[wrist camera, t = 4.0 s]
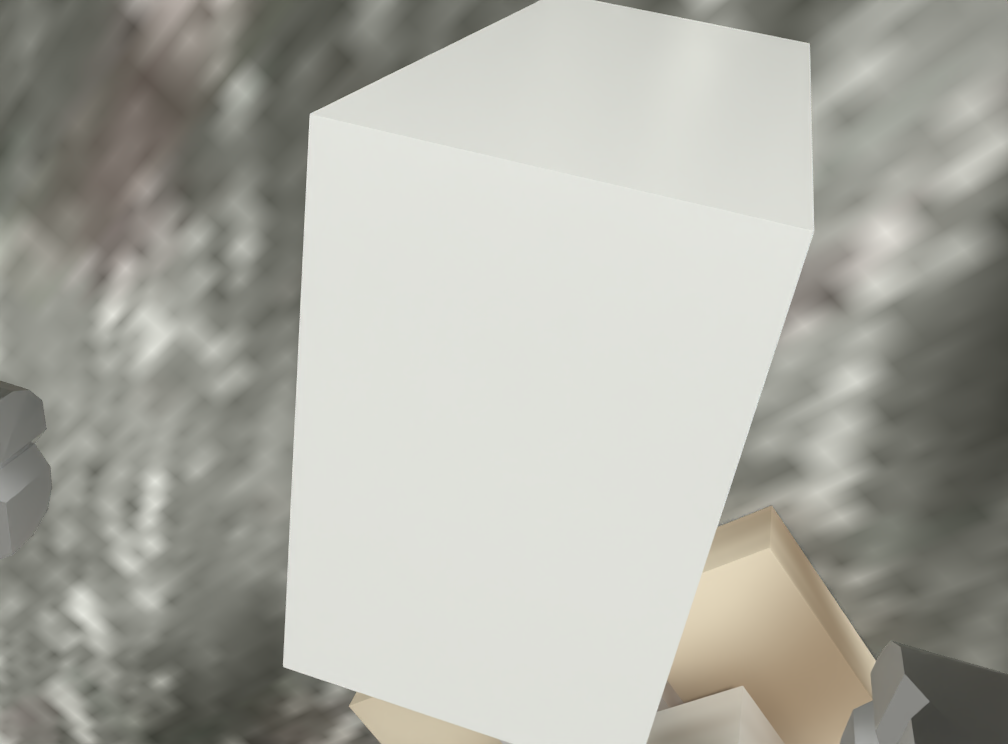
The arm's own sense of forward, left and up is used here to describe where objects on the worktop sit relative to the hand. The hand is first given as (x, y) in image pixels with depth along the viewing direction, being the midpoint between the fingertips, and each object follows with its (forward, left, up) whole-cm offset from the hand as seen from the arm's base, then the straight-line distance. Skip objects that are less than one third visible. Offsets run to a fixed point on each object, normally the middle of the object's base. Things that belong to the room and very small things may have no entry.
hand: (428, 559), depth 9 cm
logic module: (0, 0, -11) cm, 11 cm away
